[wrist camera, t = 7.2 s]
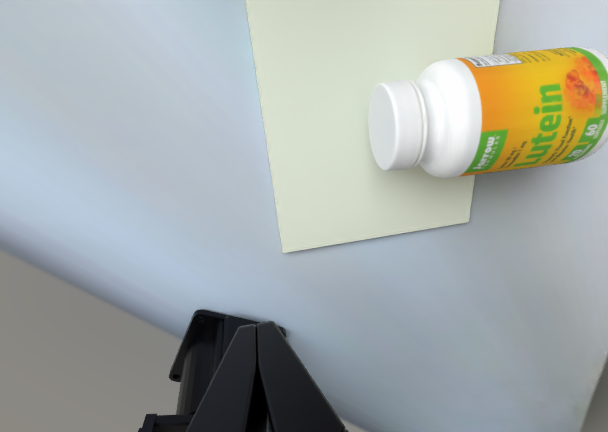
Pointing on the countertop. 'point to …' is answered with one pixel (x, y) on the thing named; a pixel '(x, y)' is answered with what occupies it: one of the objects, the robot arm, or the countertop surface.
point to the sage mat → (354, 111)
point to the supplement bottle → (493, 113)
